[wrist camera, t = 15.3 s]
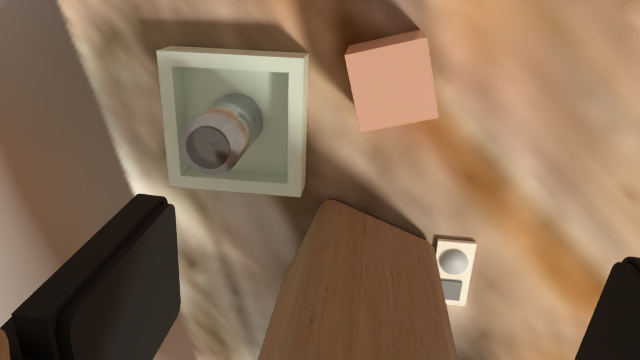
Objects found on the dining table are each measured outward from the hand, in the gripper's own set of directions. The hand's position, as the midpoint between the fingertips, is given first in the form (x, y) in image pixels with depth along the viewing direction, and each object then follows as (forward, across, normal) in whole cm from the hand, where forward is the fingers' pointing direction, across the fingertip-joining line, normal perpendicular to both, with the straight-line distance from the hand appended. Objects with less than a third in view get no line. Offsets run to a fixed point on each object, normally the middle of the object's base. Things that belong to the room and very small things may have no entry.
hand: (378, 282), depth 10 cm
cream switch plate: (+26, -8, +17) cm, 31 cm away
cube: (+26, -1, +1) cm, 26 cm away
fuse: (+25, +10, +6) cm, 28 cm away
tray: (+26, +10, +6) cm, 28 cm away
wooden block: (+26, 0, +17) cm, 31 cm away
